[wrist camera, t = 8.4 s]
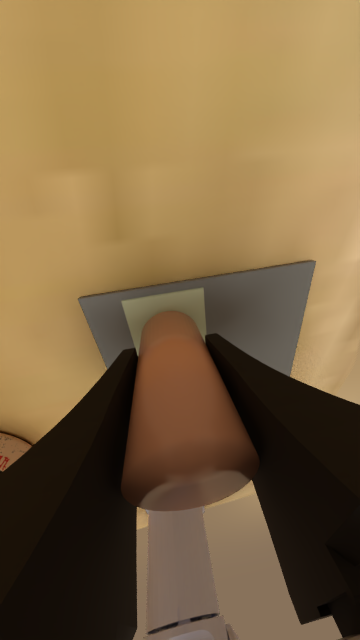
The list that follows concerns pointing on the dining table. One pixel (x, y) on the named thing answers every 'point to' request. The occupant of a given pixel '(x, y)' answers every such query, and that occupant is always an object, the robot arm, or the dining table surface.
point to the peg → (182, 423)
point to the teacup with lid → (11, 450)
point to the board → (212, 311)
